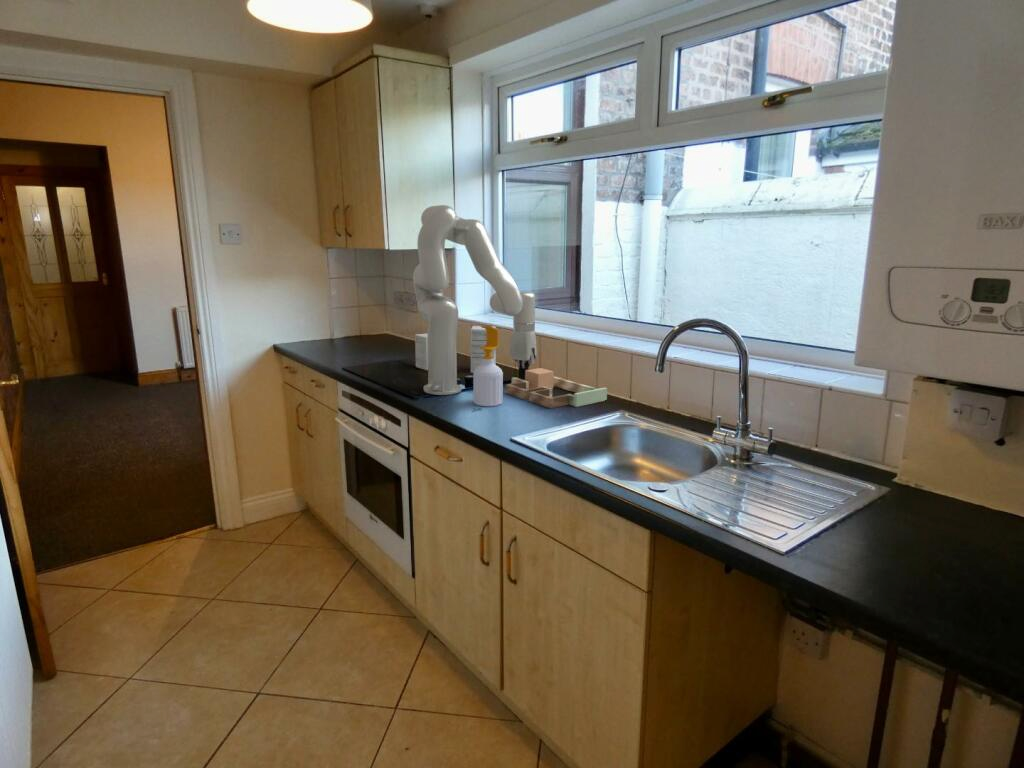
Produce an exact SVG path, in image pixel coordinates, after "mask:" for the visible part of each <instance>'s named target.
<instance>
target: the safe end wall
mask: <svg viewBox="0 0 1024 768" xmlns="http://www.w3.org/2000/svg"><path fill="white" fill-rule="evenodd" d="M573 393H574V394H573V395H574V406H573V407H575V408H577V407H581V406H586V405H592V404H595V403H601V402H605V400H606V401H607V399H608V387H601V388H597V389H594V390H589V391H584V392H579V393H576V392H573Z"/></svg>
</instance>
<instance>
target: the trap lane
mask: <svg viewBox="0 0 1024 768" xmlns="http://www.w3.org/2000/svg"><path fill="white" fill-rule="evenodd" d="M554 387H556V388H559V389H562V390H566V391H570V392H573V393H579V392H584V391H589V390H594V389H598V388H597V387H593V386H589V385H586V384H582V383H580V382H574V381H571V380H568V379H565V378H561V377H557V376H554ZM505 393H506V394H507V395H510V396H513V397H516V398H519V399H522V400H526V401H527V400H528V401H529V402H531V403H534V404H536V405H540V406H542V407H546V408H548V409H554V408H559V407H563V406H568V405H570V406H573V407H575V406H574V394H572V393H567V394H563V395H562V394H561V395H557V396H553V388H548V387H545V386H544V387H538V388H533V389H530V388H529V382H528V381H525V379H520V378H519V377H516V376H515V377H511V383H508V384H507V383H506V384H505Z"/></svg>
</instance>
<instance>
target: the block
mask: <svg viewBox="0 0 1024 768" xmlns="http://www.w3.org/2000/svg"><path fill="white" fill-rule="evenodd" d="M554 377H555V371H553V370H550V369H545V368H542V367H539V368H532V369H528V370H525V379H524V380H525V381H528V382H529V389H533V388H538V387H544V386H545V387H548V388H552V389H554V388H555V386H554Z"/></svg>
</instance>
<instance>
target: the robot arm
mask: <svg viewBox="0 0 1024 768" xmlns="http://www.w3.org/2000/svg"><path fill="white" fill-rule="evenodd" d="M420 222H421V225H422V226H421V228H420V230H419V232H418V235H417V236H418V237H417V252H418V260H419V264H417V266H415V268H414V270H413V272H412V273H413V275H412V283H413V288H414V294H415V299H416V304H417V309H418V312H419V314H420V316H421V317H422V318H423V319H424V320H425V321H427V322H428V328H427V333H428V336H427V345H428V370H427V372H428V373H427V374H428V375H427V379H428V382H427V384H425V385H424V386H423V392H424V393H425V394H429V395H435V396H445V395H446V396H448V395H455V394H458V393H461V392H462V386H461V385H460V384H458V379H457V378H458V373H457V371H458V368H457V366H458V361H457V360H458V359H457V358H458V357H457V355H458V353H457V351H458V350H457V348H458V347H457V346H458V345H457V334H458V333H457V332H458V331H457V330H458V322H459V321H458V320H459V308H458V306H457V304H456V302H455V301H454V300H452V299H451V298H450V297H448V296H445V295H444V293H443V292H444V291H445V290H446V289H448V287H449V285H450V272H449V267H448V262H447V257H446V249H445V247H446V246H445V245H446V240H447V241H449V242H452V243H455V244H458V245H460V246H464V248H465V249H466V251H467V253H468V255H469V258H470V259H471V260H470V261H471V262H472V264H473V266H474V269H475V271H476V272H477V273H478V274H479V276H480V277H481V278H482V279H484V280H485V281H487V282H488V283H489V285H491V287H492V288H493V290H494V293H493V294H492V295H491V296H490V298H489V306H490V308H491V309H492V310H493V311H494V312H496V313H497V314H501V315H505V316H509V317H513V318H512V320H513V323H512V325H513V329H512V330H511V334H510V343H509V357H510V358H513V360H514V361H515V362H516V363H517V367H518V379H522V380H525V370H529V368H530V366H531V365H534V364H535V363H536V362H535V361H536V359H537V355H538V353H537V351H538V350H537V337H536V331H535V330H536V327H535V325H536V295H535V293H534V292H532V291H526V290H524V291H520V290H519V288H518V286H517V284H516V283H517V282H515V280H514V278H513V277H512V275H511V274H510V273H509V271H508V269H507V268H506V267H505V265H504V264H503V263H502V262H501V260H500V258H499V255H498V254H497V252H496V249H495V247H494V244H493V243H492V240H491V238H490V236H489V233H488V230H487V228H486V227H485V224H484V223H483V222H481V221H480V220H479V219H471V218H469V219H466V218H462V217H461V216H457V212H456V211H455V209H454V208H453V207H452V206H449V205H445V204H439V205H431V206H428V207H427V208H425V209H423V212H422V213H421V218H420Z"/></svg>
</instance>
